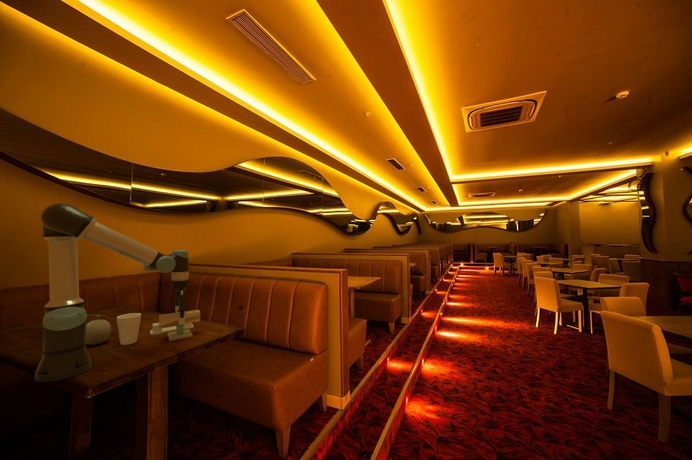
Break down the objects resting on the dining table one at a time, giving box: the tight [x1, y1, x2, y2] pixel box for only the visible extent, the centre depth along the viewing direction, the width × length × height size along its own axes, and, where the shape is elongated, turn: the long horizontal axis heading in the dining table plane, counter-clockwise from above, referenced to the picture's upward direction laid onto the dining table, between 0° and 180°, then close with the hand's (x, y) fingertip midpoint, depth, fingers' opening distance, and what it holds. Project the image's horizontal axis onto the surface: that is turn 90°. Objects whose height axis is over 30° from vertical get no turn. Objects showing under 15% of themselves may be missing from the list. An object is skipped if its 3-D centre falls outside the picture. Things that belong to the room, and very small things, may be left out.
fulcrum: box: [167, 324, 193, 342], centre depth 146 cm, size 10×10×7 cm
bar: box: [158, 309, 201, 328], centre depth 146 cm, size 5×18×5 cm, turn 127°
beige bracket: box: [149, 322, 195, 336], centre depth 156 cm, size 6×20×4 cm, turn 127°
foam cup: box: [116, 312, 142, 346], centre depth 138 cm, size 10×9×13 cm
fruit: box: [86, 313, 112, 346], centre depth 137 cm, size 10×12×15 cm
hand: (179, 321), depth 146 cm, fingers open, 13 cm apart
